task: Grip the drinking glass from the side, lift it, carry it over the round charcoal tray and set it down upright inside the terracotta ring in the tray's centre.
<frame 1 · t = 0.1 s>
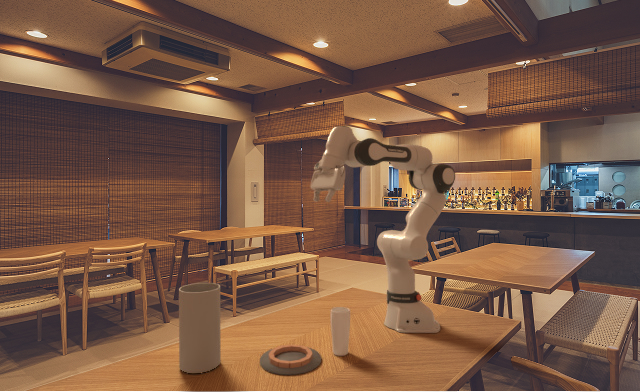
hand: (321, 201, 138), 52 cm above the table, tool tilted 20°, fingers open, 8 cm apart
round tray: (290, 360, 122), on the table
drinking glass: (340, 353, 127), on the table
cylinder vase: (200, 366, 118), on the table
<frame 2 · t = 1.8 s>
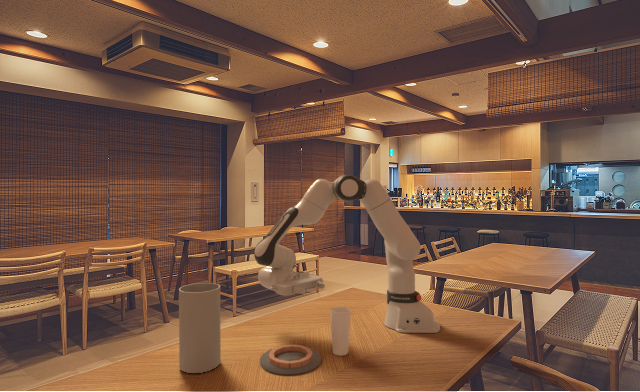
hand: (314, 288, 135), 20 cm above the table, tool horizontal, fingers open, 8 cm apart
nothing on the table moved.
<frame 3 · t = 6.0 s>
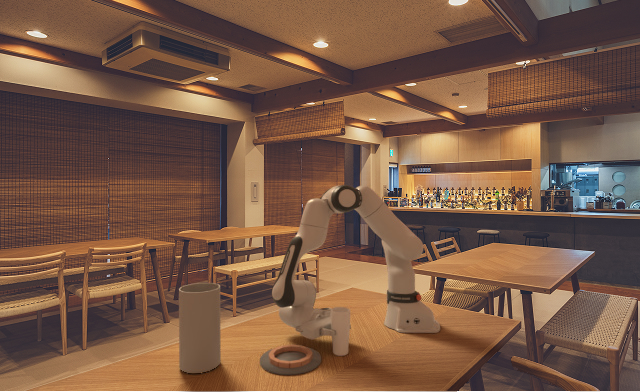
hand: (342, 330, 127), 8 cm above the table, tool horizontal, fingers closed on drinking glass, 6 cm apart
drinking glass: (340, 353, 127), on the table, touching gripper
everything else where it was.
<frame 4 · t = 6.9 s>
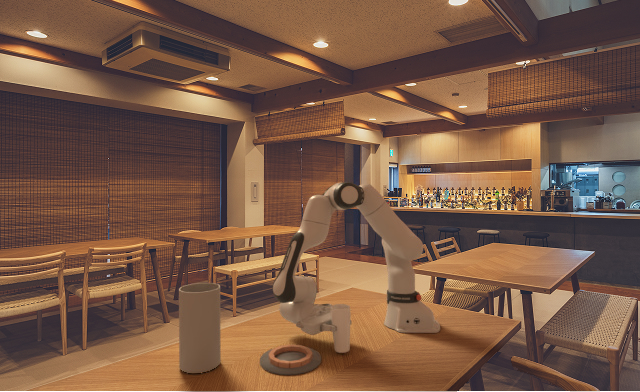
hand: (343, 326, 127), 10 cm above the table, tool horizontal, fingers closed on drinking glass, 6 cm apart
drinking glass: (342, 350, 127), point 1 cm above the table, touching gripper
everything else where it was.
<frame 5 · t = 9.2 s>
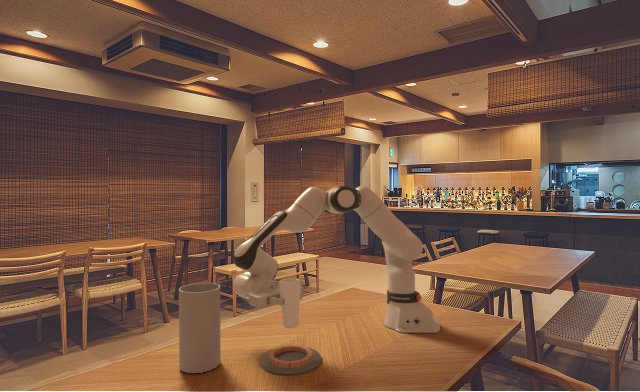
hand: (292, 299, 121), 20 cm above the table, tool horizontal, fingers closed on drinking glass, 6 cm apart
drinking glass: (291, 326, 122), point 11 cm above the table, touching gripper
everything else where it was.
when the fingers open (10 cm above the table, at t = 11.6 s): drinking glass stays where it is, resting on round tray.
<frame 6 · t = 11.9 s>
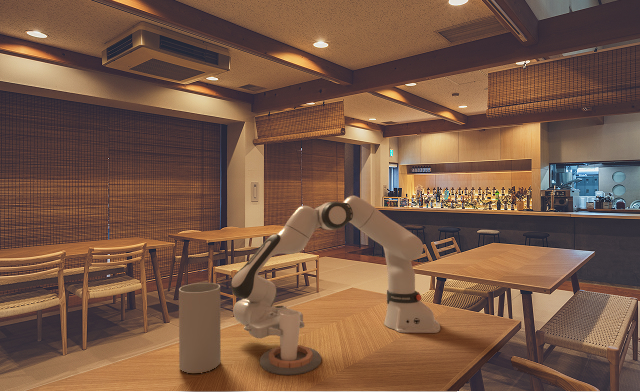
hand: (292, 329, 121), 10 cm above the table, tool horizontal, fingers open, 8 cm apart
drinking glass: (288, 359, 121), point 1 cm above the table, touching gripper, round tray
everything else where it was.
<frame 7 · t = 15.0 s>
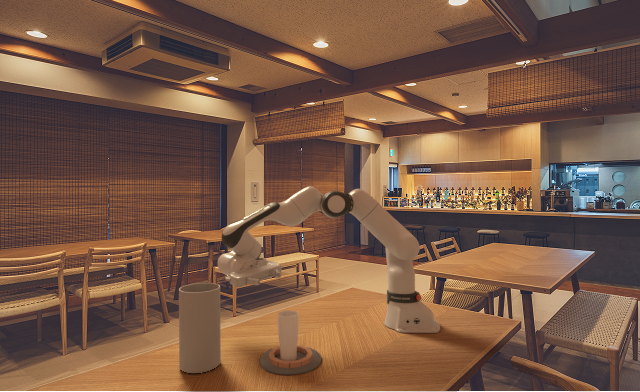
hand: (269, 279, 131), 25 cm above the table, tool horizontal, fingers open, 8 cm apart
drinking glass: (288, 360, 121), point 1 cm above the table, touching round tray
everything else where it was.
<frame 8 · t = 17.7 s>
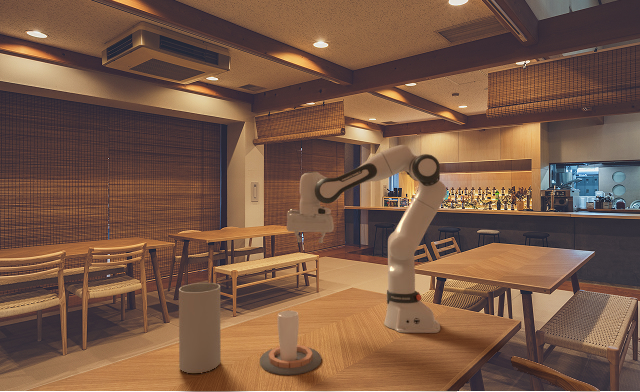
hand: (310, 242, 158), 34 cm above the table, tool pointing down, fingers open, 8 cm apart
nothing on the table moved.
at the end: drinking glass 1.3 cm from the round tray (horizontally); drinking glass tilted 1°; drinking glass touching round tray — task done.
